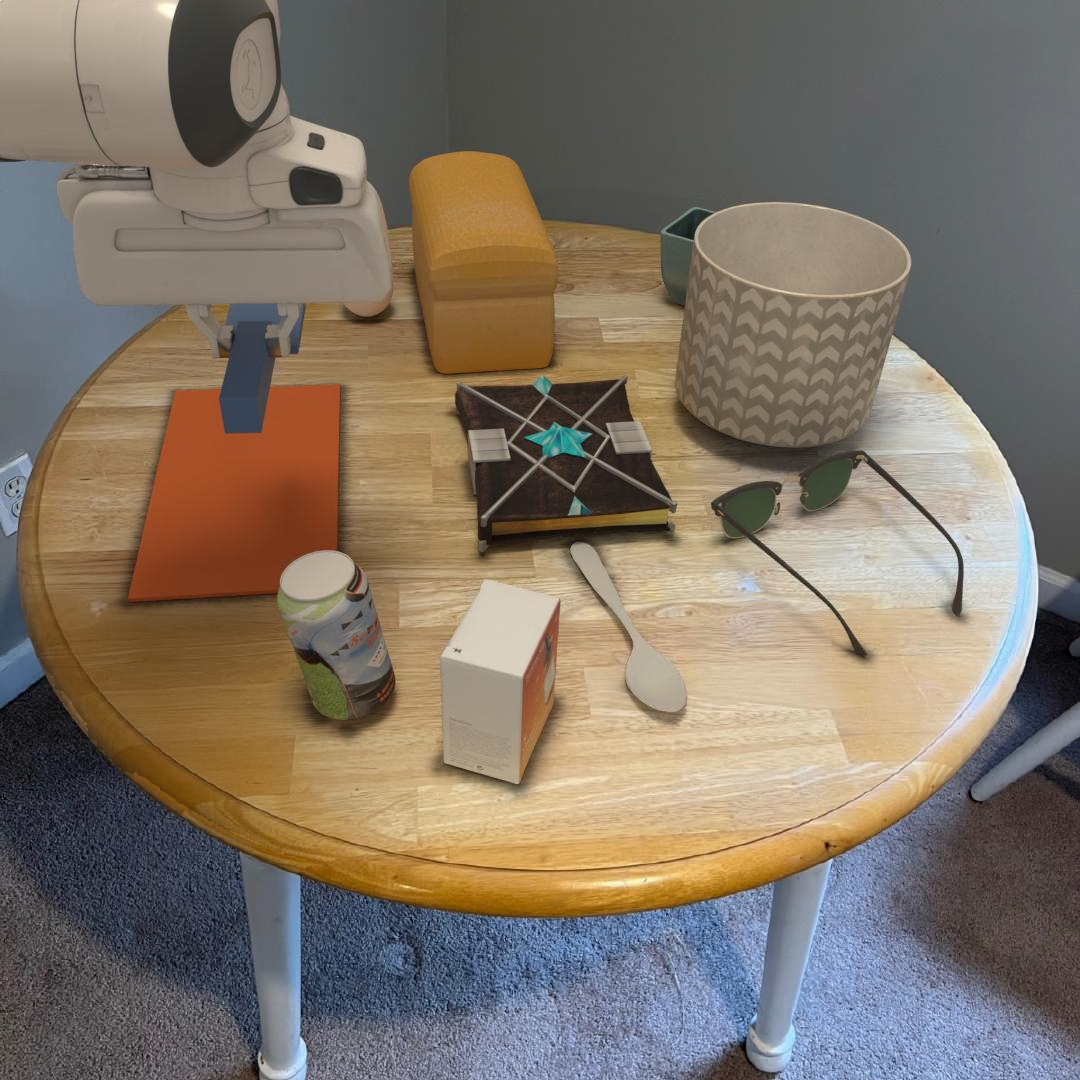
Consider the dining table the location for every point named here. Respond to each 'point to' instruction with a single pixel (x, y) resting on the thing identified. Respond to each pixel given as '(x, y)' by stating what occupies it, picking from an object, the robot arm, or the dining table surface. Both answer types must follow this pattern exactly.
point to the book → (559, 462)
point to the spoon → (635, 643)
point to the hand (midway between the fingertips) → (252, 353)
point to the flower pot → (679, 252)
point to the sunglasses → (819, 488)
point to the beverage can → (336, 634)
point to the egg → (369, 306)
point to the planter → (788, 322)
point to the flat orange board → (240, 496)
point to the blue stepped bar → (251, 366)
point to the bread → (482, 264)
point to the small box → (499, 680)
